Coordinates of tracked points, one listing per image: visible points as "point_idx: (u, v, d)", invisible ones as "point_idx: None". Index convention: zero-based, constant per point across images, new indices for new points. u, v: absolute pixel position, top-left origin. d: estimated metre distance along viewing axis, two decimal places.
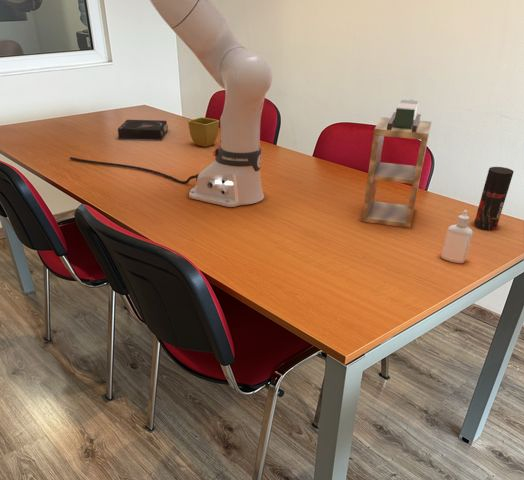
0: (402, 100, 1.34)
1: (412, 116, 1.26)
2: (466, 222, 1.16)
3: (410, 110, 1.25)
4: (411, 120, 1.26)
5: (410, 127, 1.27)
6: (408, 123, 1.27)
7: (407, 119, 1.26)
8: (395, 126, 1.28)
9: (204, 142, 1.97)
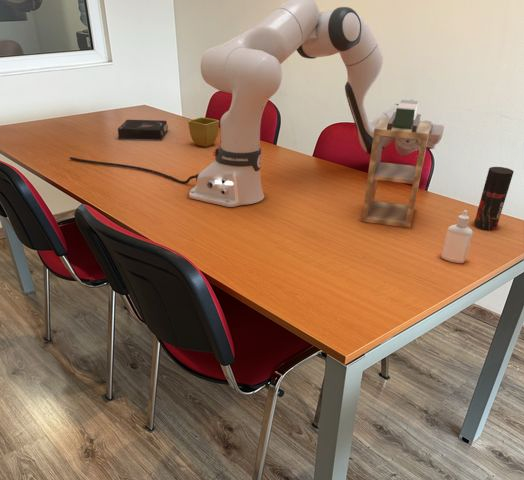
0: (402, 100, 1.34)
1: (412, 116, 1.26)
2: (466, 222, 1.16)
3: (410, 110, 1.25)
4: (411, 120, 1.26)
5: (410, 127, 1.27)
6: (408, 123, 1.27)
7: (407, 119, 1.26)
8: (395, 126, 1.28)
9: (204, 142, 1.97)
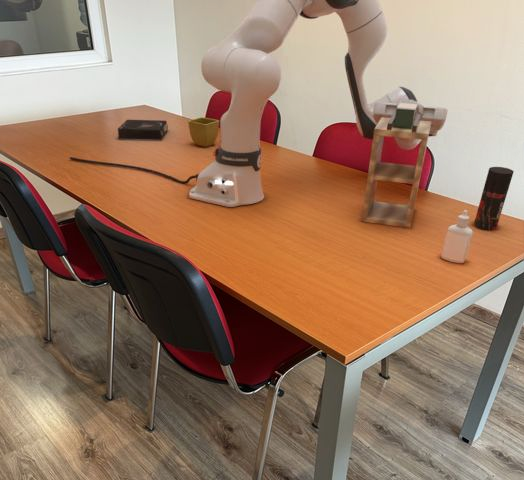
0: (402, 100, 1.34)
1: (412, 116, 1.26)
2: (466, 222, 1.16)
3: (410, 110, 1.25)
4: (411, 120, 1.26)
5: (410, 127, 1.27)
6: (408, 123, 1.27)
7: (407, 119, 1.26)
8: (395, 126, 1.28)
9: (204, 142, 1.97)
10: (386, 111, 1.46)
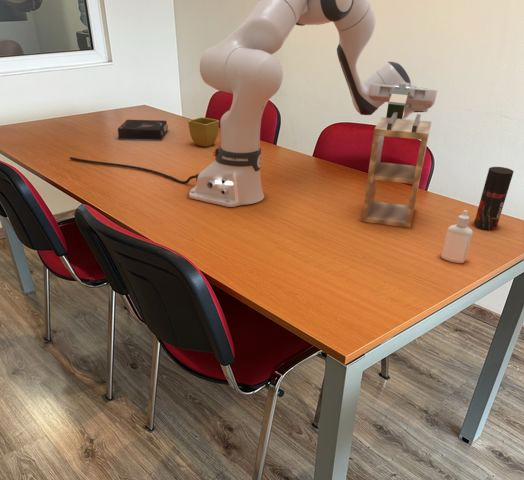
0: (394, 89, 1.47)
1: (402, 110, 1.40)
2: (466, 222, 1.16)
3: (400, 105, 1.39)
4: (401, 114, 1.40)
5: None
6: (399, 116, 1.41)
7: (398, 113, 1.41)
8: None
9: (204, 142, 1.97)
10: (380, 92, 1.57)
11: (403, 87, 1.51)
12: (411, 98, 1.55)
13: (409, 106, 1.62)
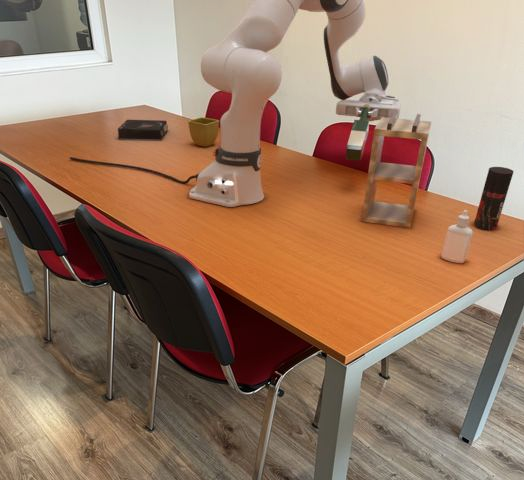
0: (355, 121, 1.56)
1: (359, 153, 1.53)
2: (466, 222, 1.16)
3: (357, 150, 1.52)
4: (359, 156, 1.53)
5: (359, 160, 1.55)
6: (357, 157, 1.54)
7: (356, 155, 1.54)
8: (347, 159, 1.56)
9: (204, 142, 1.97)
10: (347, 111, 1.65)
11: (365, 113, 1.59)
12: (375, 117, 1.63)
13: None
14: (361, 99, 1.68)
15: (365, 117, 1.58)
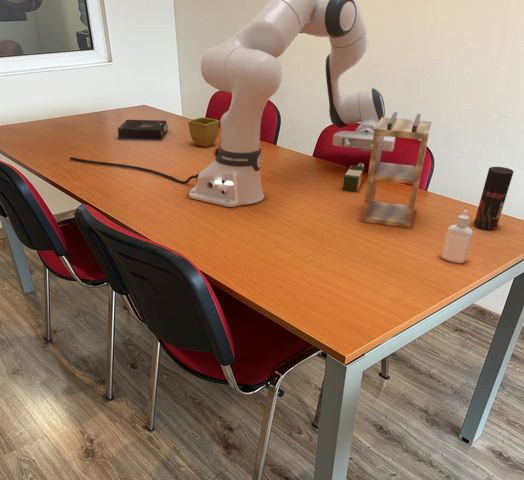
0: (351, 166, 1.68)
1: (356, 182, 1.59)
2: (466, 222, 1.16)
3: (355, 177, 1.58)
4: (356, 185, 1.60)
5: (355, 190, 1.60)
6: (354, 187, 1.60)
7: (353, 184, 1.60)
8: (344, 189, 1.61)
9: (204, 142, 1.97)
10: (343, 142, 1.71)
11: (360, 166, 1.72)
12: (371, 148, 1.69)
13: None
14: (357, 130, 1.74)
15: None
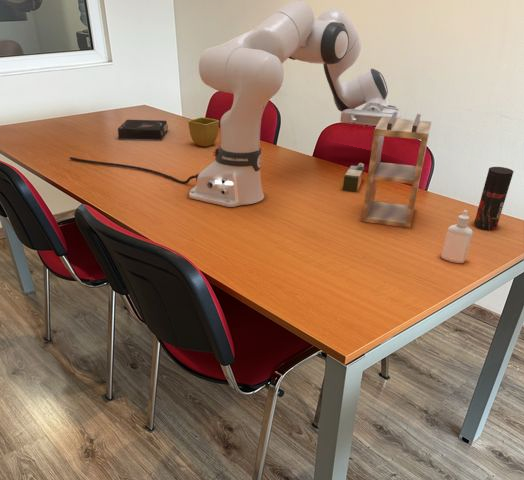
0: (351, 166, 1.68)
1: (356, 182, 1.59)
2: (466, 222, 1.16)
3: (355, 177, 1.58)
4: (356, 185, 1.60)
5: (355, 190, 1.60)
6: (354, 187, 1.60)
7: (353, 184, 1.60)
8: (344, 189, 1.61)
9: (204, 142, 1.97)
10: None
11: (360, 166, 1.72)
12: None
13: None
14: (364, 108, 1.80)
15: None
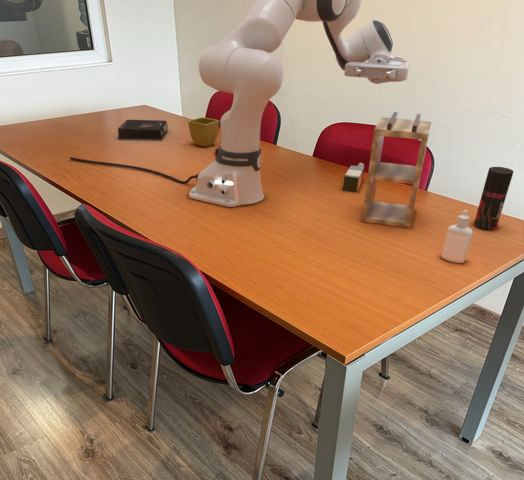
0: (351, 166, 1.68)
1: (356, 182, 1.59)
2: (466, 222, 1.16)
3: (355, 177, 1.58)
4: (356, 185, 1.60)
5: (355, 190, 1.60)
6: (354, 187, 1.60)
7: (353, 184, 1.60)
8: (344, 189, 1.61)
9: (204, 142, 1.97)
10: None
11: (360, 166, 1.72)
12: (384, 77, 1.64)
13: None
14: (369, 61, 1.69)
15: None
